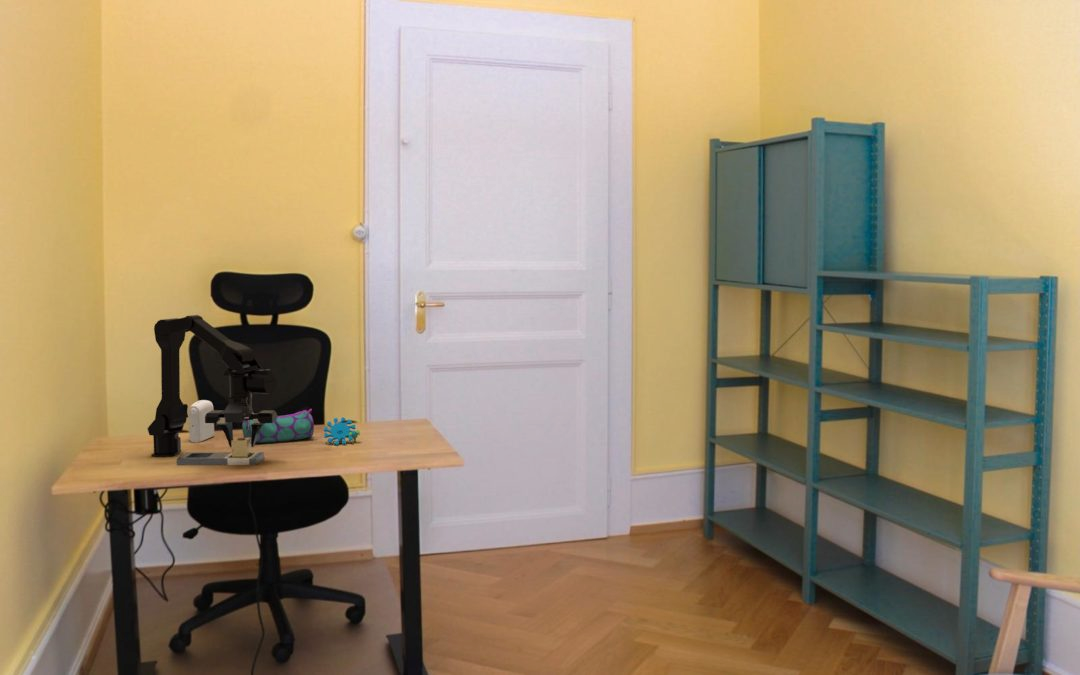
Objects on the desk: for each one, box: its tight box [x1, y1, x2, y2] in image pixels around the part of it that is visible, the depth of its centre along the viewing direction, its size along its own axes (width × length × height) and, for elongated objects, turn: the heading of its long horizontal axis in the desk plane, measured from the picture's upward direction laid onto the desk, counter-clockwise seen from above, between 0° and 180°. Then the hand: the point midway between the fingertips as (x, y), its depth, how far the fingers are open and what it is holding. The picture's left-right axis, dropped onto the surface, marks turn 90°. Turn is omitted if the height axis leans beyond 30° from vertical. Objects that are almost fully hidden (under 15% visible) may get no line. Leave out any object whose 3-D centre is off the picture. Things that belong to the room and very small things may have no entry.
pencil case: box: [241, 408, 315, 444], centre depth 299 cm, size 21×9×10 cm, turn 115°
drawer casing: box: [176, 451, 265, 466], centre depth 270 cm, size 22×8×2 cm, turn 91°
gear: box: [323, 416, 361, 446], centre depth 298 cm, size 11×6×10 cm
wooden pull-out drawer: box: [231, 437, 253, 458], centre depth 270 cm, size 4×4×7 cm
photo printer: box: [188, 399, 215, 443], centre depth 301 cm, size 10×4×12 cm, turn 172°
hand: (242, 447), depth 270 cm, fingers open, 6 cm apart
